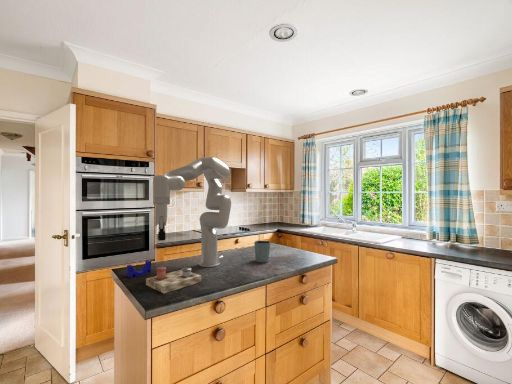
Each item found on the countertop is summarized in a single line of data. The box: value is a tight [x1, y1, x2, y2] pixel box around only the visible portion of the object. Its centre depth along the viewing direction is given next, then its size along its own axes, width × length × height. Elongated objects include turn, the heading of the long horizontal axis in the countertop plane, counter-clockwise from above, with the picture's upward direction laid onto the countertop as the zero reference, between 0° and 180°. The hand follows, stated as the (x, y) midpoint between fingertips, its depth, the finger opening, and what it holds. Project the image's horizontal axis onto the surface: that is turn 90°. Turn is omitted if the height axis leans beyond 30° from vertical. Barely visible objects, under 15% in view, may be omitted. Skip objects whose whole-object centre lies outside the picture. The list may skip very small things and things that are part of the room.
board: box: [145, 269, 202, 294], centre depth 130 cm, size 20×16×3 cm
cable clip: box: [126, 260, 152, 279], centre depth 143 cm, size 12×4×6 cm, turn 144°
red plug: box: [155, 266, 167, 281], centre depth 128 cm, size 5×5×6 cm
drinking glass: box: [253, 240, 271, 264], centre depth 171 cm, size 10×10×12 cm
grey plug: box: [181, 266, 192, 278], centre depth 131 cm, size 5×5×6 cm
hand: (161, 240), depth 128 cm, fingers closed
